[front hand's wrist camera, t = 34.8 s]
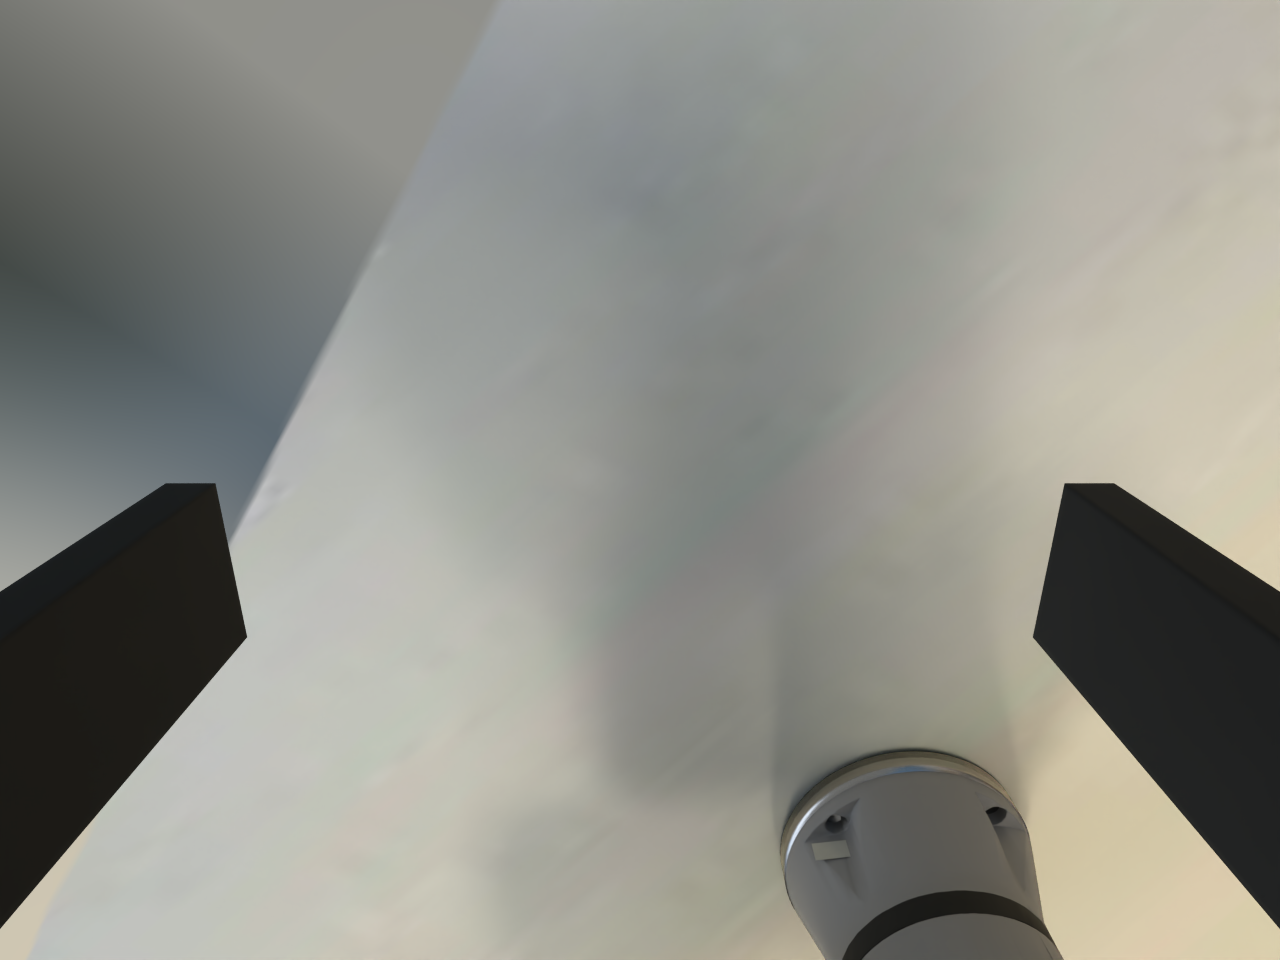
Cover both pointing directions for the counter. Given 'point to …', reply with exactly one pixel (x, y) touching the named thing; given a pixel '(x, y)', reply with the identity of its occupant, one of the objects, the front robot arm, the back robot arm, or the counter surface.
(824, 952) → the front robot arm
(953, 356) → the counter surface
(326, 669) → the counter surface
